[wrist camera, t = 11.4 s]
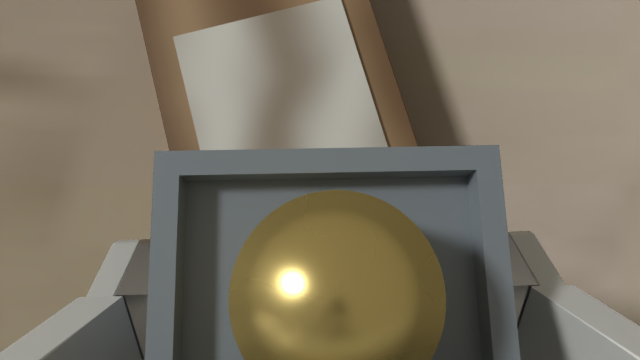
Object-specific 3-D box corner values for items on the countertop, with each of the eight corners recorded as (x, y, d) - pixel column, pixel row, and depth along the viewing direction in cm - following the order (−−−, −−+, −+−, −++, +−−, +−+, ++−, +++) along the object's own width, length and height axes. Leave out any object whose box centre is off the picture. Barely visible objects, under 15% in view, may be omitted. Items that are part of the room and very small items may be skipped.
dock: (215, 282, 27) (198, 282, 23) (152, 10, 30) (127, -32, 26) (422, 223, 28) (441, 213, 24) (339, -35, 31) (343, -83, 27)
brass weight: (241, 387, 8) (224, 414, 6) (246, 207, 8) (231, 189, 7) (423, 387, 8) (452, 413, 6) (415, 207, 8) (440, 190, 7)
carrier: (227, 370, 14) (139, 463, 7) (229, 214, 15) (155, 150, 8) (417, 364, 14) (529, 449, 7) (408, 211, 15) (499, 145, 8)
